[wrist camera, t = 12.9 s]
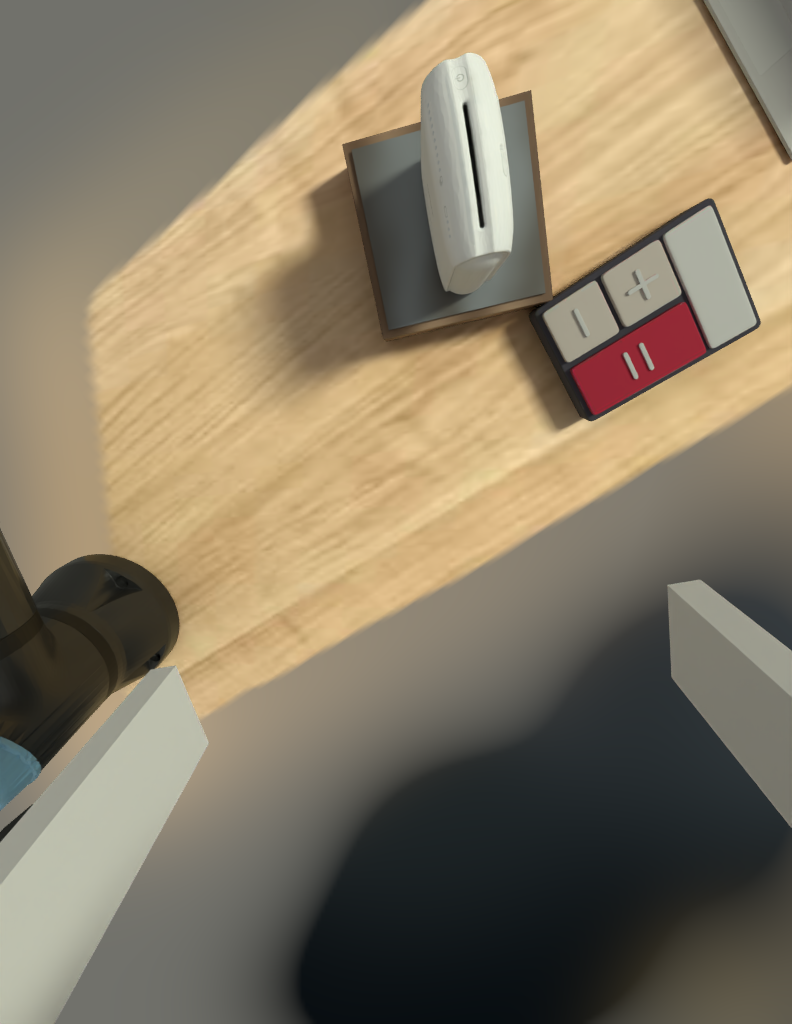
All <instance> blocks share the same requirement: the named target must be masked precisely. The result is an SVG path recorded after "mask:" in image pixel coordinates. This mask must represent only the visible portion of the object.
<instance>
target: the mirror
mask: <svg viewBox="0 0 792 1024" xmlns="http://www.w3.org/2000/svg"><path fill="white" fill-rule="evenodd" d="M499 106H500V111H501V116H502V122H503V129H504V135H505V142H506V149H507V157H508V165H509V174H510V184H511V195H512V207H513V239H512V249H511V253H510V255H509V256H508V258H507V259H506V260H505V261H504V263H503V264H502V265H501V266H500V268H499V269H498V270H497V271H496V273H495V274H494V275H493V277H492V278H491V279H490V280H489V281H487V282H484V283H483V284H482V285H481V286H480V287H479V288H478V289H477V290H476V291H474V292H472V293H469V294H456V293H453V292H451V291H447V292H446V291H445V289H444V287H443V285H442V282H441V279H440V275H439V271H438V267H437V262H436V257H435V253H434V248H433V243H432V238H431V232H430V227H429V221H428V215H427V209H426V203H425V196H424V189H423V182H422V173H421V122H419V123H415V124H412V125H408V126H405V127H401V128H398V129H394V130H391V131H387V132H384V133H380V134H377V135H373V136H370V137H366V138H363V139H359V140H356V141H352V142H349V143H345V144H342V146H343V150H344V155H345V160H346V164H347V169H348V174H349V179H350V183H351V188H352V193H353V198H354V202H355V207H356V212H357V216H358V221H359V226H360V231H361V235H362V240H363V245H364V250H365V254H366V259H367V264H368V268H369V273H370V278H371V283H372V287H373V292H374V297H375V302H376V306H377V311H378V316H379V320H380V325H381V330H382V335H383V339H384V340H385V341H391V340H395V339H399V338H403V337H408V336H412V335H416V334H420V333H425V332H429V331H433V330H437V329H442V328H446V327H450V326H454V325H459V324H463V323H467V322H471V321H476V320H480V319H484V318H488V317H493V316H497V315H501V314H506V313H510V312H514V311H518V310H523V309H527V308H531V307H535V306H540V305H542V304H544V303H547V302H549V301H551V300H553V295H552V285H551V276H550V266H549V256H548V247H547V237H546V228H545V218H544V209H543V199H542V190H541V180H540V171H539V161H538V152H537V142H536V133H535V123H534V114H533V104H532V95H531V90H530V91H527V92H523V93H520V94H516V95H513V96H509V97H506V98H502V99H499Z"/></svg>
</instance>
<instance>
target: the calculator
mask: <svg viewBox="0 0 792 1024" xmlns="http://www.w3.org/2000/svg"><path fill="white" fill-rule="evenodd" d="M529 318H530V321H531V323H532V325H533V326H534V328H535V330H536V332H537V334H538V336H539V338H540V340H541V342H542V344H543V346H544V348H545V350H546V352H547V354H548V355H549V357H550V359H551V361H552V363H553V365H554V367H555V369H556V371H557V373H558V375H559V377H560V379H561V381H562V382H563V384H564V386H565V388H566V390H567V392H568V394H569V396H570V398H571V400H572V402H573V404H574V406H575V408H576V409H577V411H578V413H579V415H580V416H581V417H582V418H584V419H586V420H589V421H594V420H596V419H598V418H600V417H601V416H603V415H605V414H607V413H608V412H610V411H612V410H614V409H616V408H617V407H619V406H621V405H623V404H624V403H626V402H628V401H630V400H632V399H633V398H635V397H637V396H639V395H640V394H642V393H644V392H646V391H647V390H649V389H651V388H653V387H655V386H656V385H658V384H660V383H662V382H663V381H665V380H667V379H669V378H671V377H672V376H674V375H676V374H678V373H679V372H681V371H683V370H685V369H687V368H688V367H690V366H692V365H694V364H695V363H697V362H699V361H701V360H702V359H704V358H706V357H708V356H710V355H711V354H713V353H715V352H717V351H718V350H720V349H722V348H724V347H726V346H727V345H729V344H731V343H733V342H734V341H736V340H738V339H740V338H741V337H743V336H745V335H747V334H749V333H750V332H752V331H754V330H755V329H757V328H758V327H759V326H760V323H761V322H760V318H759V316H758V313H757V311H756V308H755V305H754V303H753V300H752V298H751V295H750V292H749V290H748V287H747V285H746V282H745V280H744V277H743V274H742V272H741V269H740V267H739V264H738V261H737V259H736V256H735V254H734V251H733V249H732V246H731V243H730V241H729V238H728V236H727V233H726V230H725V228H724V225H723V223H722V220H721V218H720V215H719V212H718V210H717V207H716V205H715V202H714V200H713V199H706V200H704V201H702V202H700V203H699V204H697V205H695V206H693V207H691V208H690V209H688V210H686V211H684V212H683V213H681V214H680V215H678V216H677V217H675V218H674V219H672V220H670V221H669V222H667V223H666V224H664V225H663V226H661V227H660V228H658V229H657V230H655V231H654V232H652V233H651V234H649V235H648V236H646V237H645V238H643V239H642V240H640V241H639V242H637V243H636V244H634V245H633V246H631V247H630V248H628V249H626V250H625V251H623V252H622V253H620V254H619V255H617V256H616V257H614V258H613V259H611V260H610V261H608V262H607V263H605V264H603V265H602V266H600V267H599V268H597V269H596V270H594V271H593V272H591V273H590V274H588V275H587V276H585V277H584V278H582V279H580V280H579V281H577V282H576V283H574V284H573V285H571V286H570V287H568V288H567V289H565V290H564V291H562V292H561V293H559V294H557V295H556V296H554V297H553V300H551V301H549V302H547V303H544V304H542V305H541V306H539V307H538V308H536V309H535V310H533V311H532V312H531V313H530V315H529Z"/></svg>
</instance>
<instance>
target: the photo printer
mask: <svg viewBox="0 0 792 1024" xmlns="http://www.w3.org/2000/svg"><path fill="white" fill-rule="evenodd" d="M421 173H422V182H423V189H424V196H425V203H426V209H427V215H428V221H429V227H430V232H431V238H432V243H433V248H434V253H435V257H436V262H437V267H438V271H439V275H440V279H441V282H442V285H443V287H444V289H445V291H446V292H447V291H451V292H453V293H456V294H469V293H472V292H474V291H476V290H477V289H478V288H479V287H480V286H481V285H482V284H483V283H484V282H487V281H489V280H490V279H491V278H492V277H493V275H494V274H495V273H496V271H497V270H498V269H499V268H500V266H501V265H502V264H503V263H504V261H505V260H506V259H507V258H508V256H509V255H510V253H511V249H512V239H513V207H512V195H511V184H510V174H509V165H508V157H507V149H506V142H505V135H504V129H503V122H502V116H501V111H500V106H499V100H498V96H497V94H496V90H495V86H494V83H493V80H492V77H491V74H490V71H489V69H488V67H487V65H486V62H485V61H484V59H483V58H482V57H481V56H479V55H477V54H474V53H465V54H464V55H462V56H460V57H458V58H456V59H450V60H444V61H443V62H441V63H440V64H438V65H437V66H436V67H435V68H434V69H433V70H432V71H431V72H430V73H429V74H428V75H427V77H426V78H425V80H424V82H423V84H422V89H421Z"/></svg>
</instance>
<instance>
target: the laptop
mask: <svg viewBox="0 0 792 1024" xmlns="http://www.w3.org/2000/svg"><path fill="white" fill-rule="evenodd" d="M703 1H704V3H705V4H706V6H707V8H708V10H709V12H710V13H711V15H712V17H713V19H714V21H715V22H716V24H717V26H718V28H719V30H720V32H721V33H722V35H723V37H724V39H725V41H726V42H727V44H728V46H729V48H730V50H731V51H732V53H733V55H734V57H735V59H736V61H737V62H738V64H739V66H740V68H741V70H742V71H743V73H744V75H745V77H746V79H747V80H748V82H749V84H750V86H751V88H752V89H753V91H754V93H755V95H756V97H757V99H758V100H759V102H760V104H761V106H762V108H763V109H764V111H765V113H766V115H767V117H768V118H769V120H770V122H771V124H772V126H773V128H774V129H775V131H776V133H777V135H778V137H779V138H780V140H781V142H782V144H783V146H784V147H785V149H786V151H787V153H788V155H789V156H790V158H791V160H792V0H703Z"/></svg>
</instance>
